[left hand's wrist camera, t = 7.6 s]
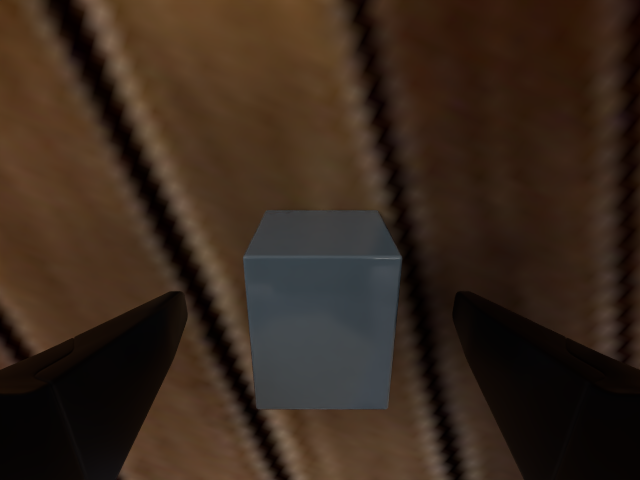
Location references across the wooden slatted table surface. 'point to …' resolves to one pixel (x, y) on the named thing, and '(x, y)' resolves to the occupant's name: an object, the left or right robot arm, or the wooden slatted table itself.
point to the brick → (322, 309)
